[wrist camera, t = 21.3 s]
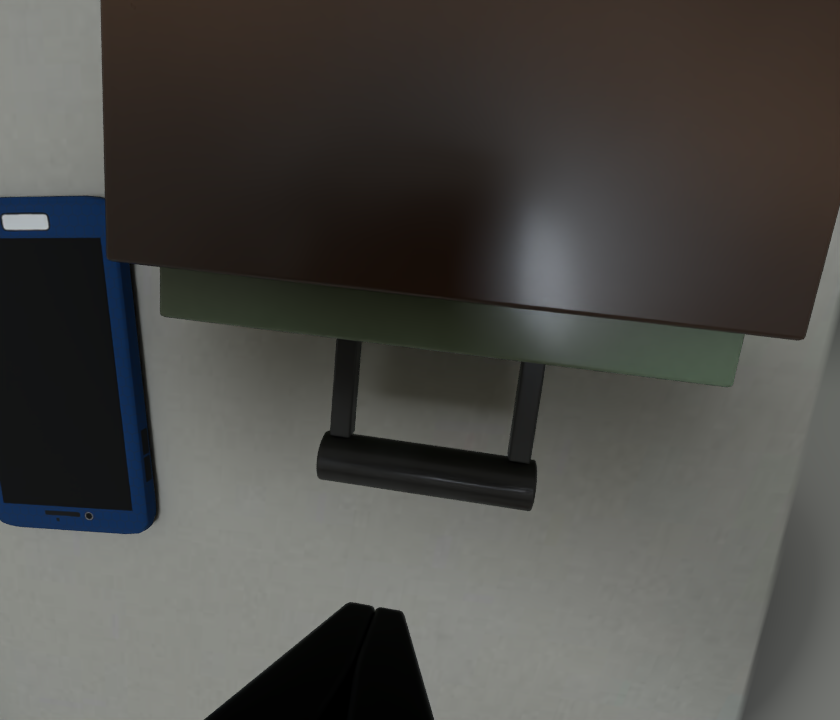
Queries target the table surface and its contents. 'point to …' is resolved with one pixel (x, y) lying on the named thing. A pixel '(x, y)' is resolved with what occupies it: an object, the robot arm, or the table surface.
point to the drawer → (455, 333)
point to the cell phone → (69, 374)
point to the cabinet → (485, 150)
